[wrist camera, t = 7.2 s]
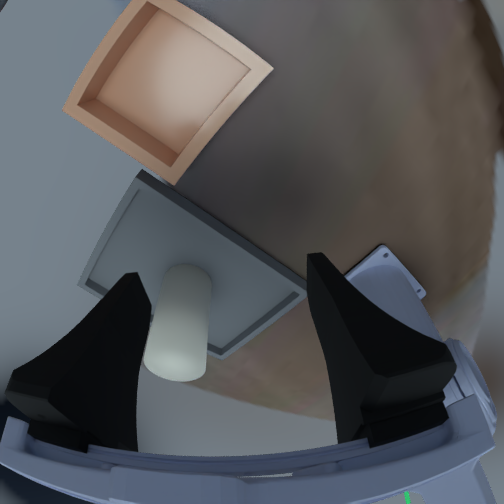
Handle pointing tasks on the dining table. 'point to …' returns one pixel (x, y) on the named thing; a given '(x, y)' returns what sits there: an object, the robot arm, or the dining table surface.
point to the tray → (192, 262)
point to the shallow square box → (163, 84)
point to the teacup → (2, 4)
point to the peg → (180, 325)
